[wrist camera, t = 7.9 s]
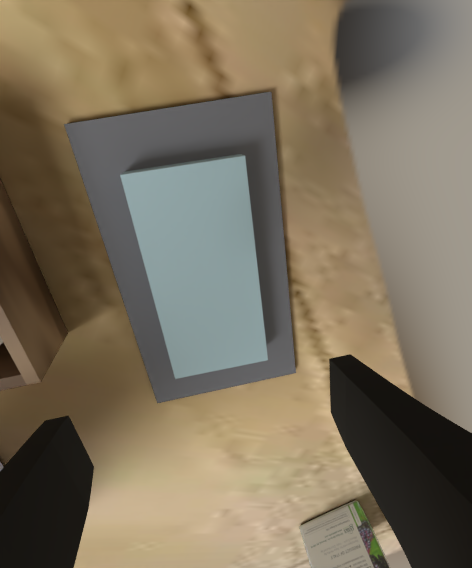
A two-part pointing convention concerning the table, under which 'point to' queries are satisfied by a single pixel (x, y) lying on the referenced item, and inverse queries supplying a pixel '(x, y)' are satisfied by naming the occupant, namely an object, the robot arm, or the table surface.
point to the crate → (24, 308)
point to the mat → (122, 237)
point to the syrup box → (343, 540)
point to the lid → (200, 261)
